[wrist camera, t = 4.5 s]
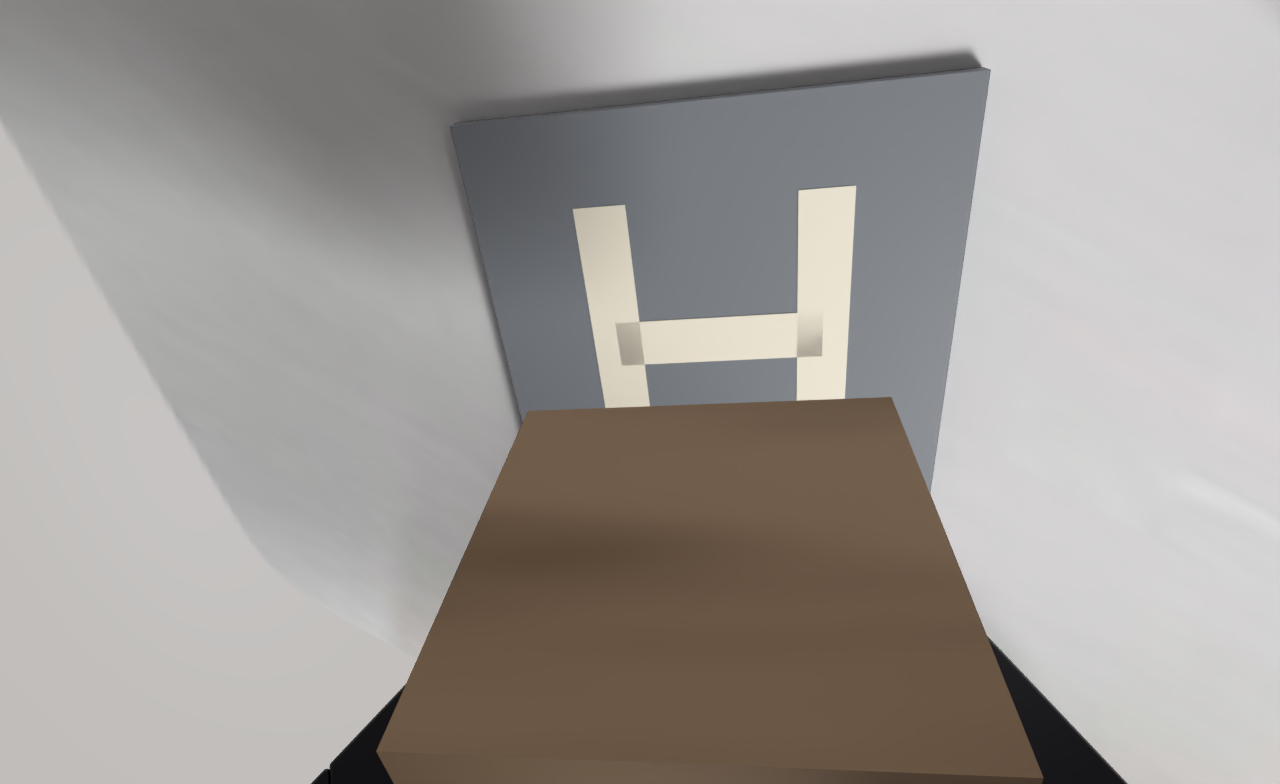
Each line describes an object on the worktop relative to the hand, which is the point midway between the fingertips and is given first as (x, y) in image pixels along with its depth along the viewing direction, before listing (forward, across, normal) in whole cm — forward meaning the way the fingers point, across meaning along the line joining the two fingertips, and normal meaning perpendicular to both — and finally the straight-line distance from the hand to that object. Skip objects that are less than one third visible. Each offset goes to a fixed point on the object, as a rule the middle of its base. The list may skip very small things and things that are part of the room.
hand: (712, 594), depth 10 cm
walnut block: (+1, 0, 0) cm, 1 cm away
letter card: (+9, 0, 0) cm, 9 cm away
